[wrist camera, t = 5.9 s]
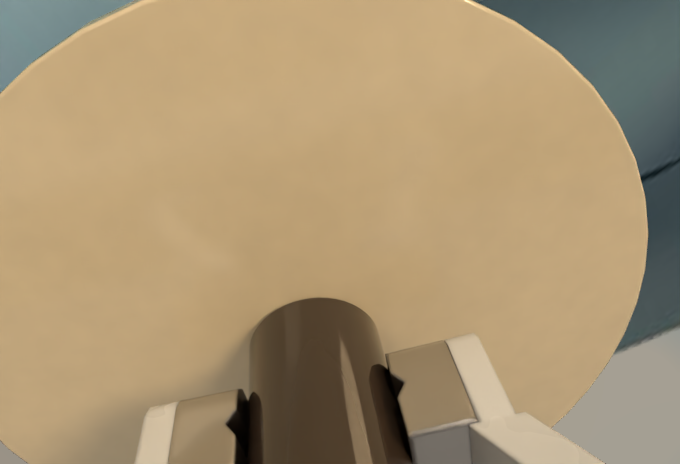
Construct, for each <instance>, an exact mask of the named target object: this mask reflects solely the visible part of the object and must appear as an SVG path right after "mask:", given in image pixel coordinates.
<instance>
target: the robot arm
mask: <svg viewBox="0 0 680 464" xmlns="http://www.w3.org/2000/svg"><path fill="white" fill-rule="evenodd" d="M385 358H386V363H387V369H388V373H389V376H390V380H391V384H392V388H393V392H394V396H395V399H396V402H397V403H398V405H399V409H400V414H401V420H402V425H403V429H404V432H405V436H406V440H407V443H408V447H409V450H410V454H411V458H412V461H413V464H606V463H604V462H603V461H601V460H600V459H598V458H596V457H595V456H593V455H592V454H590V453H589V452H587V451H586V450H584V449H582V448H581V447H580V446H578V445H576V444H575V443H573V442H572V441H570V440H569V439H567V438H566V437H564V436H562V435H561V434H559V433H558V432H556V431H555V430H553V429H552V428H550V427H549V426H547V425H546V424H544V423H543V422H541V421H539V420H538V419H536V418H535V417H533V416H532V415H530V414H529V413H527V412H521V413H516V412H515V410H514V408H513V406H512V404H511V402H510V400H509V398H508V396H507V394H506V392H505V390H504V388H503V386H502V384H501V382H500V380H499V378H498V376H497V374H496V372H495V370H494V368H493V366H492V364H491V362H490V360H489V358H488V356H487V354H486V351H485V349H484V347H483V345H482V343H481V341H480V339H479V337H478V336H477V335H476V334H474V333H471V334H467V335H462V336H458V337H454V338H450V339H445V340H444V341H443V340H440V341H436V342H432V343H428V344H424V345H420V346H416V347H412V348H407V349H403V350H399V351H395V352H391V353H387V354H385ZM247 463H248V399H247V397H246V395H245V393H244V391H243V389H235V390H230V391H225V392H220V393H215V394H210V395H205V396H200V397H196V398H191V399H186V400H181V401H178V402H173V403H169V404H164V405H159V406H154V407H150V408H149V410H148V411H147V413H146V415H145V416H144V419H143V424H142V429H141V434H140V438H139V443H138V448H137V453H136V457H135V462H134V464H247Z"/></svg>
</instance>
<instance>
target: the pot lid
mask: <svg viewBox="0 0 680 464" xmlns="http://www.w3.org/2000/svg"><path fill="white" fill-rule="evenodd" d="M647 243H648V223H647V211H646V198H645V194H644V190H643V186H642V182H641V178H640V174H639V171H638V167H637V163H636V159H635V157H634V155H633V152H632V150H631V148H630V146H629V144H628V142H627V139H626V137H625V135H624V133H623V131H622V129H621V126H620V124H619V122H618V120H617V119H616V117H615V116H614V115H613V113H612V112H611V110H610V109H609V108H608V106H607V105H606V103H605V102H604V100H603V99H602V98H601V96H600V95H599V93H598V92H597V91H596V89H595V88H594V86H593V85H592V84H591V83H590V82H589V81H588V80H587V79H586V78H585V77H584V76H583V75H582V74H581V73H580V72H579V71H578V70H577V69H576V68H575V67H574V66H573V65H572V64H571V63H570V62H569V61H568V60H567V59H566V58H565V57H564V56H563V55H562V54H561V53H560V52H559V51H558V50H556V49H555V48H553V47H552V46H550V45H549V44H548V43H546V42H545V41H543V40H542V39H540V38H539V37H537V36H536V35H535V34H533V33H532V32H530V31H529V30H527V29H526V28H525V27H523V26H522V25H520V24H519V23H517V22H516V21H514V20H512V19H511V18H509V17H507V16H505V15H503V14H501V13H499V12H497V11H495V10H493V9H491V8H489V7H486V6H484V5H482V4H480V3H478V2H476V1H474V0H134V1H132V2H130V3H128V4H126V5H124V6H122V7H120V8H117V9H115V10H113V11H111V12H109V13H107V14H105V15H103V16H101V17H99V18H97V19H94V20H92V21H90V22H89V23H87V24H86V25H84V26H83V27H81V28H80V29H78V30H77V31H75V32H74V33H73V34H71V35H70V36H68V37H67V38H65V39H64V40H62V41H61V42H59V43H58V44H57V45H55V46H54V47H52V48H51V49H49V50H48V51H46V52H45V53H44V54H42V55H41V56H39V57H38V58H37V59H36V60H34V61H33V62H32V63H31V64H30V65H29V66H28V67H27V68H26V69H25V70H23V71H22V72H21V73H20V74H19V75H18V76H17V77H16V78H15V79H14V80H13V81H12V82H11V83H10V84H9V85H8V86H7V87H6V88H5V89H4V90H3V91H2V92H1V93H0V441H1V442H2V443H3V444H4V445H5V446H6V447H7V448H8V449H9V450H11V451H12V452H13V453H15V454H16V455H17V456H19V457H20V458H21V459H23V460H24V461H25V462H26V463H28V464H134V462H135V457H136V453H137V448H138V443H139V438H140V434H141V429H142V424H143V419H144V416H145V415H146V413H147V411H148V410H149V408H150V407H154V406H159V405H164V404H169V403H173V402H178V401H181V400H186V399H191V398H196V397H200V396H205V395H210V394H215V393H220V392H225V391H230V390H235V389H243V391H244V393H245V395H246V397H247V399H248V463H247V464H413V461H412V458H411V454H410V450H409V447H408V443H407V440H406V436H405V432H404V429H403V425H402V420H401V414H400V409H399V405H398V403H397V402H396V399H395V396H394V392H393V388H392V384H391V380H390V376H389V373H388V369H387V363H386V358H385V354H387V353H391V352H395V351H399V350H403V349H407V348H412V347H416V346H420V345H424V344H428V343H432V342H436V341H440V340H443V341H444V340H445V339H450V338H454V337H458V336H462V335H467V334H471V333H474V334H476V335H477V336H478V337H479V339H480V341H481V343H482V345H483V347H484V349H485V351H486V354H487V356H488V358H489V360H490V362H491V364H492V366H493V368H494V370H495V372H496V374H497V376H498V378H499V380H500V382H501V384H502V386H503V388H504V390H505V392H506V394H507V396H508V398H509V400H510V402H511V404H512V406H513V408H514V410H515V412H516V413H521V412H527V413H529V414H530V415H532V416H533V417H535V418H536V419H538V420H539V421H541V422H543V423H544V424H546V425H547V426H549V427H550V428H552V427H553V426H554V425H555V424H556V423H557V422H559V421H560V420H561V419H562V418H563V417H564V416H565V415H566V414H567V413H568V412H569V411H570V410H571V408H573V407H574V405H575V404H576V403H577V402H578V401H579V400H580V399H581V398H582V397H583V395H584V394H585V393H586V392H587V391H588V390H589V389H590V387H591V386H592V385H593V383H594V382H595V380H596V379H597V378H598V376H599V375H600V373H601V372H602V371H603V369H604V368H605V367H606V365H607V364H608V362H609V361H610V359H611V357H612V355H613V353H614V352H615V350H616V348H617V346H618V344H619V343H620V341H621V339H622V337H623V336H624V334H625V331H626V329H627V326H628V324H629V321H630V319H631V316H632V314H633V311H634V309H635V306H636V304H637V301H638V297H639V293H640V288H641V284H642V280H643V276H644V272H645V266H646V255H647Z"/></svg>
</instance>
